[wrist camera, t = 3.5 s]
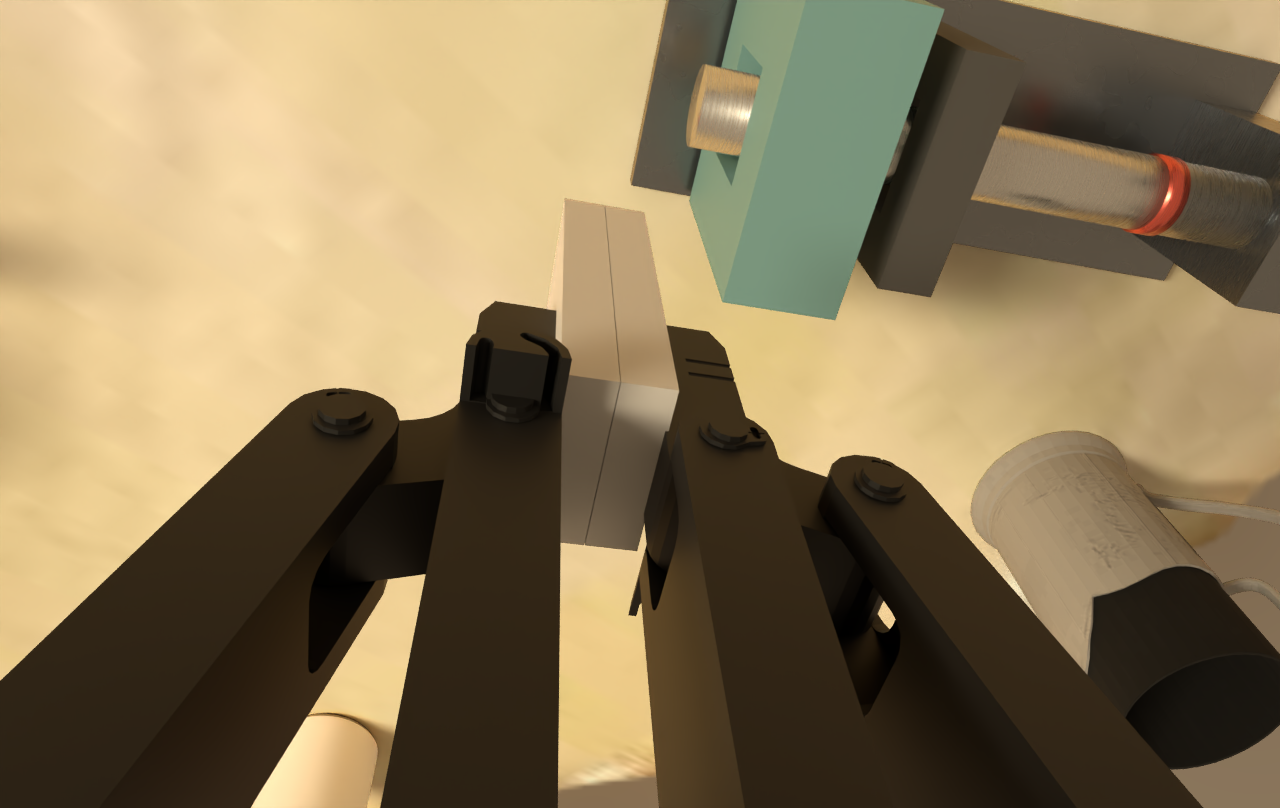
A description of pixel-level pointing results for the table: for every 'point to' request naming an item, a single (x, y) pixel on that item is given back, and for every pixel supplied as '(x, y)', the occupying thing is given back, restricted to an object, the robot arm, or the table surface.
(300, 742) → the can
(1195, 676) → the glass holder
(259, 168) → the table surface
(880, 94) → the green block with hole
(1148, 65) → the grey piece
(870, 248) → the dark gray square plate
